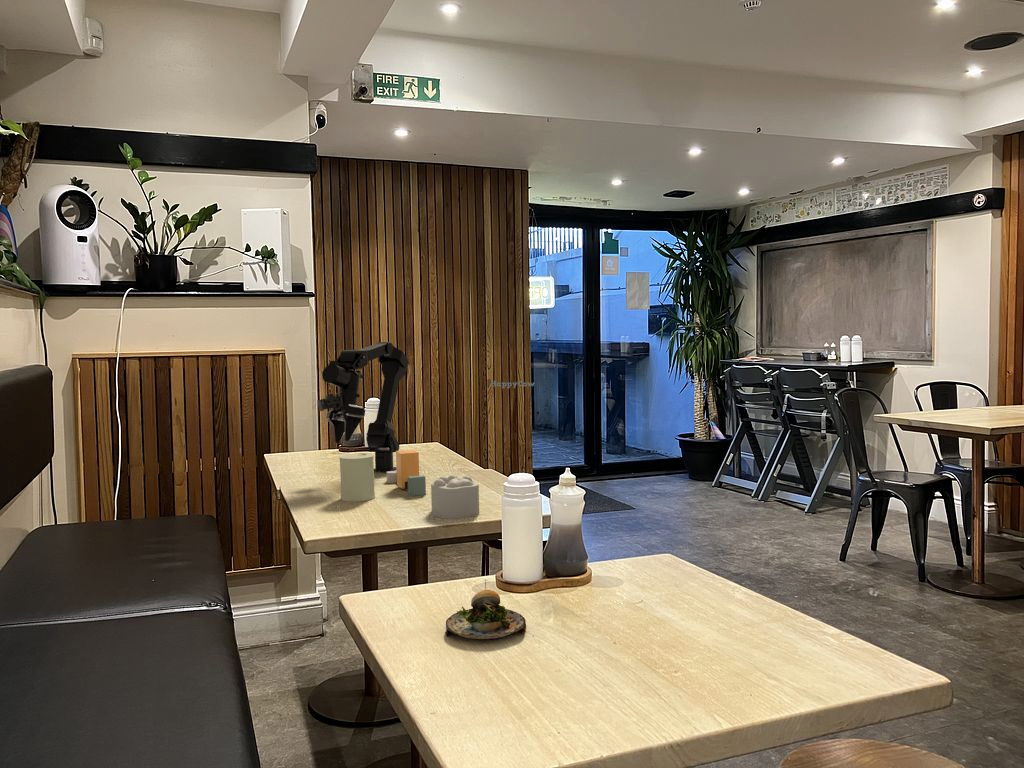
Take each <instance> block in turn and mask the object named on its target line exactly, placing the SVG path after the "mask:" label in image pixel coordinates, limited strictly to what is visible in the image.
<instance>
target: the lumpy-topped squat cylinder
mask: <svg viewBox="0 0 1024 768" xmlns="http://www.w3.org/2000/svg"><path fill="white" fill-rule="evenodd" d="M479 489H480V486H479V483H478V482H476V481H473V478H472V477H471V476H469V475H465V476H463V477H462V478H461V477H458V476H456V475H455V474H451V475H449V476H448V477H446V476H444V475H443V476H439V478H438V479H436V480H434V481H432V482H431V484H430V490H431V491H430V495H431V514H432V515H434V516H436V517H439V518H443V519H447V520H448V519H454V520H455V519H460V518H466V517H473V516H474V517H475V516H478V515H480V493H479V492H480V490H479Z"/></svg>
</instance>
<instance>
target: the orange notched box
mask: <svg viewBox="0 0 1024 768" xmlns="http://www.w3.org/2000/svg"><path fill="white" fill-rule="evenodd" d="M395 463H396V465H395V467H396V469H395V471H397V483H396V486H397V487H399V488H400V489H403V490H405V482H407V481H408V476H419V475H420V455H419V451H417V450H415V449H405V450H404V449H403V450H399V451H396V452H395Z"/></svg>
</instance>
